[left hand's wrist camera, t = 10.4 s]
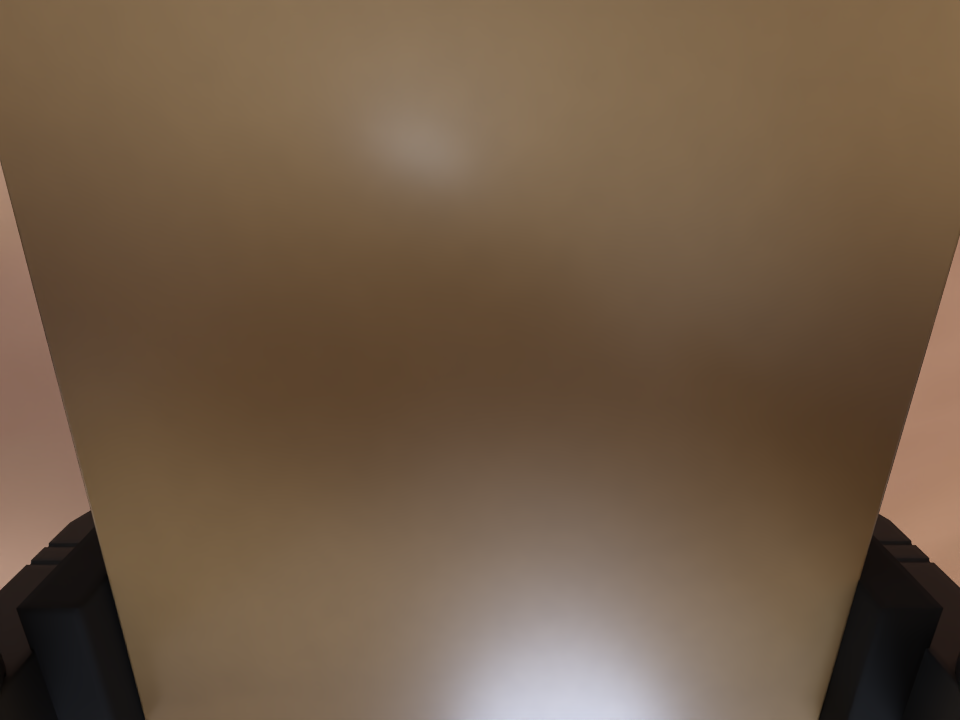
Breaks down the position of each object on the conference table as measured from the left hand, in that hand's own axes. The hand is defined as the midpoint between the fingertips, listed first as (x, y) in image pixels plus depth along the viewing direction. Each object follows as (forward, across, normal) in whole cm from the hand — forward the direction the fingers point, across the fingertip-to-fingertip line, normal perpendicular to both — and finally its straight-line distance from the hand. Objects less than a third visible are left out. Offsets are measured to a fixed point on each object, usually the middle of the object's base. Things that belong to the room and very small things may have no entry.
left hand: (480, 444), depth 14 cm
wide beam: (+1, 0, -19) cm, 19 cm away
